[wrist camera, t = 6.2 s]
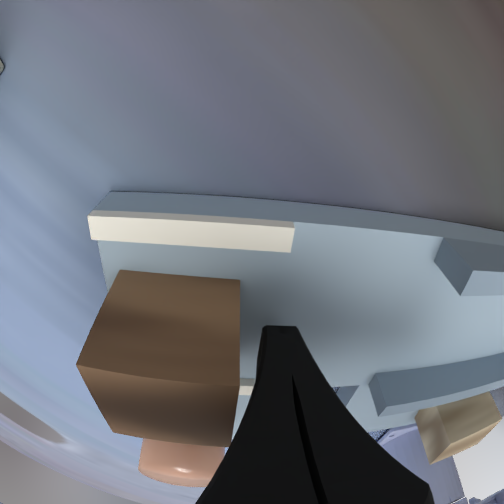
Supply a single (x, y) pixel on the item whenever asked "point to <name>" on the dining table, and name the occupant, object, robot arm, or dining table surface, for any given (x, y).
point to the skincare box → (1, 66)
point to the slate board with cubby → (333, 290)
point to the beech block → (456, 425)
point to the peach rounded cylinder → (179, 462)
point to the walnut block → (166, 357)
